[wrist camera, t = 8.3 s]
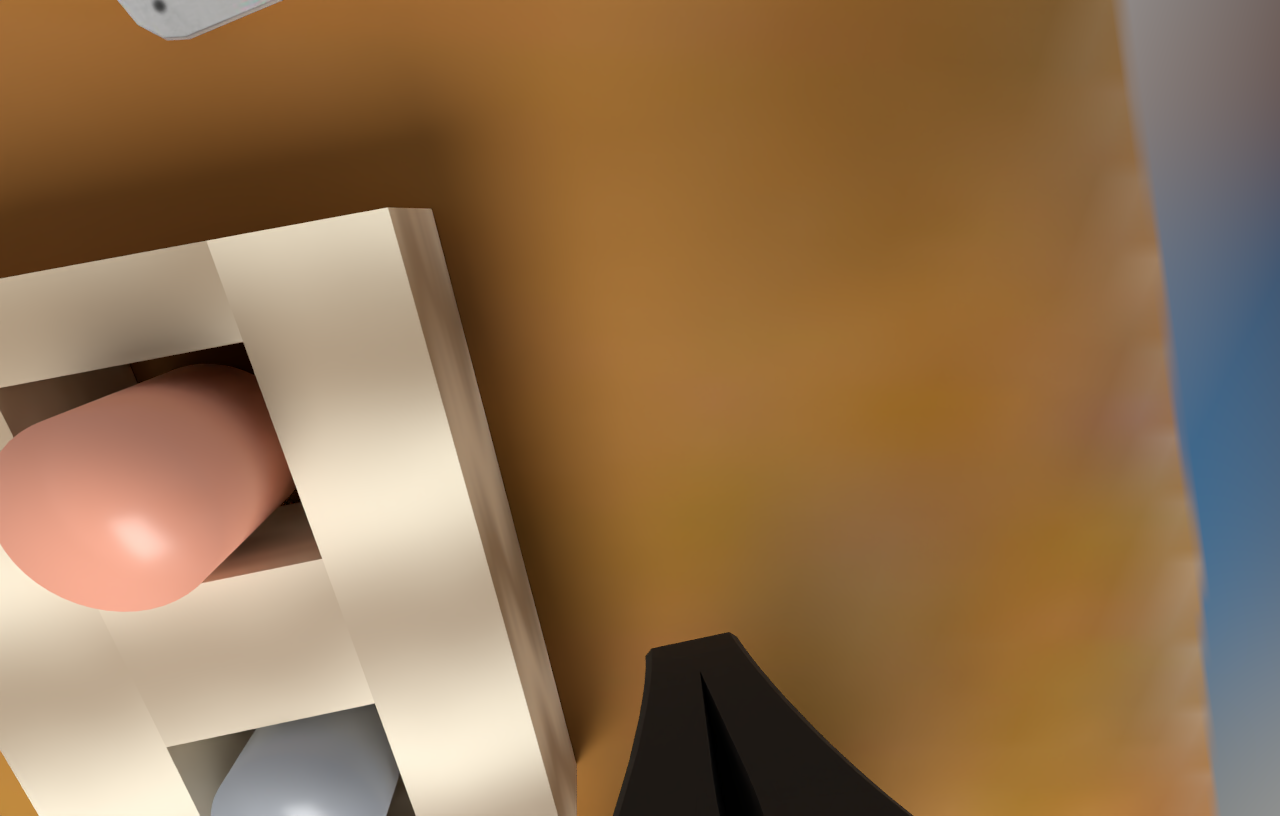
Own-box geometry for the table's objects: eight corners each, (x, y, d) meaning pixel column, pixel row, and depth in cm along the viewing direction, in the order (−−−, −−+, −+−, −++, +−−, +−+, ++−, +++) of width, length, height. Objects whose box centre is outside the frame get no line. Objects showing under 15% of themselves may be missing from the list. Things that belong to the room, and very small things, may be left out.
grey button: (434, 741, 21) (402, 861, 17) (307, 768, 20) (245, 896, 17) (398, 634, 19) (355, 737, 16) (262, 662, 19) (184, 774, 15)
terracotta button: (328, 502, 17) (254, 588, 13) (169, 533, 16) (45, 630, 13) (274, 348, 15) (175, 393, 12) (102, 381, 15) (-56, 437, 11)
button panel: (576, 765, 22) (576, 881, 18) (214, 843, 21) (136, 980, 18) (431, 208, 17) (387, 207, 13) (-54, 298, 16) (-250, 324, 12)
